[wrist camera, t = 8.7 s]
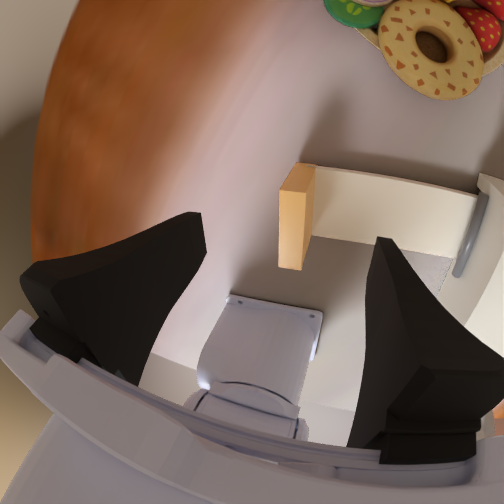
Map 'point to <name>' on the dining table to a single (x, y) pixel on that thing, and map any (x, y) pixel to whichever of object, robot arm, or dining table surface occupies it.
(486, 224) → the cream rectangular block
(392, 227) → the cream block orange end
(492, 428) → the donut
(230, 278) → the dining table surface
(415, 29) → the toy food set
